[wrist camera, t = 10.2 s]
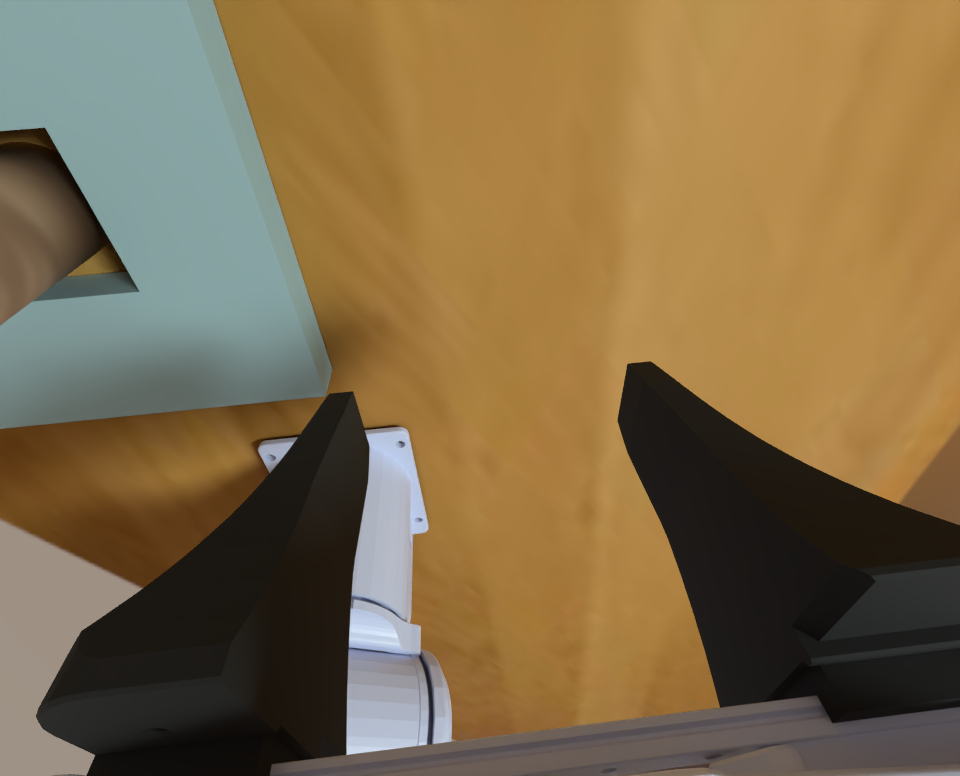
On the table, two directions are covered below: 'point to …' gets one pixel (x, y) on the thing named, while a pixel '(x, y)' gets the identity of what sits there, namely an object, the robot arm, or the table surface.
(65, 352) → the hole board
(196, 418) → the table surface
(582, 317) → the table surface
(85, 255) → the walnut pin
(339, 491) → the robot arm
